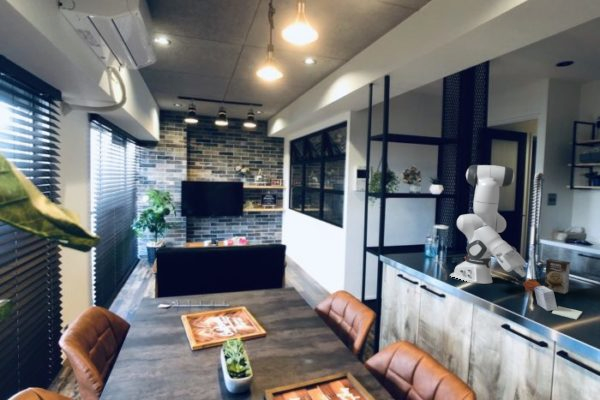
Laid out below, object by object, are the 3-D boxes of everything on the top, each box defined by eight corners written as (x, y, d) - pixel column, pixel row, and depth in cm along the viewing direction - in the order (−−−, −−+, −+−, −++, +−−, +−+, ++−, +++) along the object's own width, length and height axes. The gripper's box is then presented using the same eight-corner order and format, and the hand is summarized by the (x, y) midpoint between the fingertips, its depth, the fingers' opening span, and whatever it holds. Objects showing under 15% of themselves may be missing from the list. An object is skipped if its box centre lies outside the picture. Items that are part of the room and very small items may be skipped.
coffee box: (543, 289, 179) (545, 259, 178) (548, 287, 183) (549, 258, 182) (564, 294, 172) (566, 263, 171) (568, 291, 176) (570, 261, 175)
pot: (545, 291, 174) (544, 280, 173) (535, 297, 171) (535, 285, 170) (529, 286, 181) (528, 275, 180) (520, 291, 178) (519, 280, 177)
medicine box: (557, 309, 147) (553, 290, 147) (546, 311, 148) (543, 292, 148) (547, 303, 155) (543, 285, 155) (537, 304, 156) (533, 287, 156)
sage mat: (551, 313, 146) (551, 311, 146) (558, 307, 153) (558, 306, 153) (576, 319, 140) (576, 318, 140) (582, 313, 147) (582, 311, 147)
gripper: (500, 250, 156) (523, 275, 149) (515, 246, 169) (537, 269, 162) (489, 258, 160) (511, 283, 153) (505, 254, 173) (526, 276, 166)
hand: (525, 276), depth 158 cm, fingers closed
